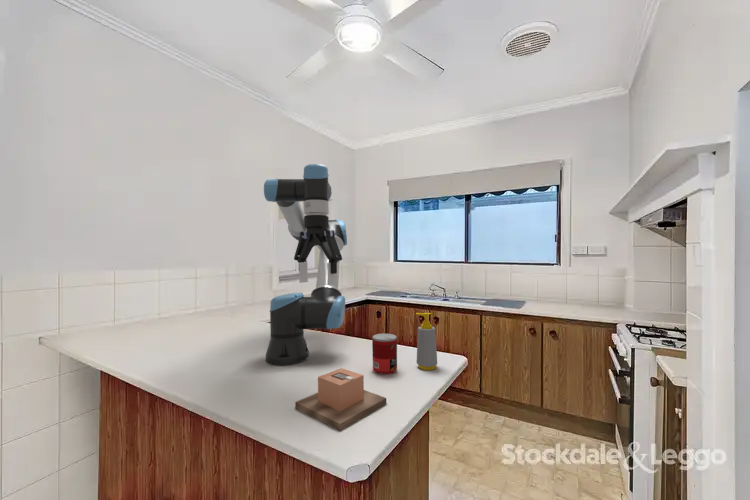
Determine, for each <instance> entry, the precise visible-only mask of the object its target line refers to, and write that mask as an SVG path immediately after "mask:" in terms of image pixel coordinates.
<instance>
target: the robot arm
mask: <svg viewBox="0 0 750 500" xmlns="http://www.w3.org/2000/svg"><path fill="white" fill-rule="evenodd" d="M263 194H264V195H263V196H264V198H265V200H266V201H267V202H270V203H271V202H272V203H274V202H275V203H276V204H277V206H278V208H279V210H280V212H281V215H283V217H284V219H285V221H286V224H287V228H288V229H287V230H288V232H289V234H290V235H291V236H292V237H293V238H294V239H295V240H297V241H298V242H297V246H296V249H295V250H296V251H295V252H294V257H293V260H294V261H297V262H298V274H299V276H298V277H299V278H298V280H299V283H300V284H301V283H308V281H309V279H308V277H309V276H308V274H309V273H308V271H309V270H308V260H307V259H308V257H309V255H310V253H311V251H312V250H313V248H314V247H315V246H317V248H318V249H319V255H318V256H319V257H318V263H317V274H316V275H317V276H316V284H315V288H314V289H313V290H311V293H310V296H304V293H303V292H293V293H287V294H282V295H281V294H280V295H278V296H274V297H273V298H271V300H270V304H269V305H270V306H269V307H270V308H269V309H270V310H269V314H270V315H269V320H270V321H269V322H270V325H269V329H270V339H269V342H268V346H267V348H266V353H265V362H266V363H268V364H270V365H275V366H288V365H294V364H299V363H302V362H305V361H306V360H308V359H309V358H310V357H309V356H310V355H309V353H310V352H309V351H310V350H309V347H308V345H307V342H306V338H305V335H304V334H305V333H304V330H325V329H327V330H333V329H339V328H340V327H342V325H343V323H344V318H345V313H346V312H345V311H346V297H345V296H343V295H342V292H341V291H340V290H339V281H340V280H339V277H340V275H339V274H340V262H341V261H342V260H343V257H342V254H341V251H342V250H343V249H344V247H345V246H347V245H348V236H347V235H348V234H347V227H346V223H345V221H344V220H342V219H329V216H328V215H329V212H330V210H329V200H330V199H331V197H332V186H331V185H330V182H329V169H328V167H327V166H326V165H324V164H320V163H319V164H318V163H311V164H307V165H305V166H304V168H303V176H302V178H297V179H296V178H274V179H266V180H265V182H264V184H263ZM300 202H303V205H304V206H303V208H304V209H302V206H301V203H300Z"/></svg>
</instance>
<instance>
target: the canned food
mask: <svg viewBox="0 0 750 500" xmlns="http://www.w3.org/2000/svg"><path fill="white" fill-rule="evenodd" d="M371 339H372V347H371V349H372V370H373V372H375V373H376V374H379V375H391V374H394V373H396V372H397V369H398V338H397V335H396V334H392V333H377V334H373V335H372V338H371Z"/></svg>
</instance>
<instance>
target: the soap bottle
mask: <svg viewBox="0 0 750 500" xmlns="http://www.w3.org/2000/svg"><path fill="white" fill-rule="evenodd" d="M431 314H432V313H431V312H422V313H421V312H416V313H415V315H417V316H421V317H423V318H424V320H423V321H422V324H420V326H418V328H417V337H416V339H417V341H416V343H417V344H416V364H417V366H418V368H419V369H420V370H424V371H431V370H434V369H436V366H437V365H438V353H437V334H436V328H435V327H434V326H432V325H433V324H431V321H430V320H429V315H431Z"/></svg>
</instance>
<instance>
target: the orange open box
mask: <svg viewBox="0 0 750 500" xmlns="http://www.w3.org/2000/svg"><path fill="white" fill-rule="evenodd" d="M339 373H340V374H343V375H346V376H348V377H346V379H344V380H340V379H337V378H335V377H334V375H337V374H339ZM364 377H365V376H364V375H363V374H361V373H358V372H355V371H351V370H349V369H346V368H342V367H341V368H339V369H338V368H337V369H336V370H333V371H330V372H326V373H323V374H322V375H319V376H318V377H317V393H318V401H319V402H321V403H323V404H326V405H328V406H330V407H332V408H334V409H337V410H339V411H342V410H344V409H346V408H348V407H349V406H351V405H353V404H355V403H357V402H359V401H361V400H363V399H364V390H365V388H364V384H365V383H364Z"/></svg>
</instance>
